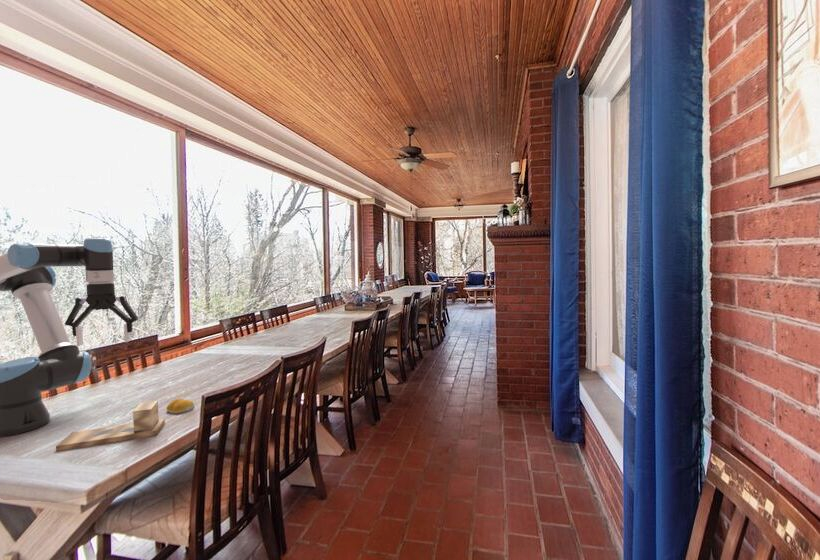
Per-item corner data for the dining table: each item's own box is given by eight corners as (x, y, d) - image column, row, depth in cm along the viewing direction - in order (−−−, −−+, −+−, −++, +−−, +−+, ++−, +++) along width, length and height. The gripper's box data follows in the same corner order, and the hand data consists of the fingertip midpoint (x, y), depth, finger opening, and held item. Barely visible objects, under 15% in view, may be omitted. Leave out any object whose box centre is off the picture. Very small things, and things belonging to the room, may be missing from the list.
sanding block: (133, 432, 122) (132, 411, 122) (141, 422, 129) (140, 402, 129) (152, 430, 124) (151, 409, 123) (158, 420, 131) (157, 400, 131)
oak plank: (56, 451, 114) (55, 445, 114) (72, 436, 124) (71, 432, 124) (157, 435, 123) (156, 430, 123) (164, 422, 133) (164, 418, 133)
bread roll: (180, 415, 140) (180, 404, 140) (162, 412, 143) (162, 402, 143) (199, 406, 148) (199, 396, 147) (182, 404, 151) (181, 394, 150)
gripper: (49, 284, 124) (53, 349, 125) (139, 282, 133) (142, 342, 134) (60, 283, 131) (64, 344, 132) (146, 281, 140) (149, 338, 141)
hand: (104, 343), depth 133 cm, fingers open, 13 cm apart
